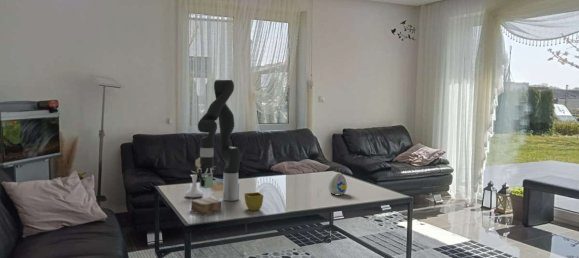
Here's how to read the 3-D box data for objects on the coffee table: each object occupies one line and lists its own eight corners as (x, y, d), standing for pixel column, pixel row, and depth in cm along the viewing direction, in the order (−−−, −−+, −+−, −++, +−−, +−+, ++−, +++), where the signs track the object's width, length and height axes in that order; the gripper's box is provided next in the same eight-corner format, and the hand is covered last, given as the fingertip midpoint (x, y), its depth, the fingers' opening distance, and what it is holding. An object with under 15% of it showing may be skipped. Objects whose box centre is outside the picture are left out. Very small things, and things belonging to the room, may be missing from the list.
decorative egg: (334, 197, 288) (335, 174, 287) (324, 193, 299) (325, 171, 298) (349, 195, 294) (350, 173, 292) (339, 191, 305) (340, 170, 303)
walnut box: (209, 207, 255) (209, 197, 255) (221, 212, 246) (221, 201, 246) (191, 210, 247) (191, 200, 247) (202, 215, 238) (202, 204, 238)
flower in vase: (187, 199, 270) (187, 159, 268) (183, 195, 281) (183, 156, 278) (207, 197, 276) (208, 158, 274) (203, 193, 286) (203, 156, 284)
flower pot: (248, 212, 246) (249, 196, 246) (243, 208, 254) (244, 193, 254) (263, 210, 250) (263, 195, 249) (257, 207, 258) (258, 192, 257)
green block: (206, 185, 249) (206, 175, 249) (212, 187, 246) (212, 176, 246) (200, 187, 245) (200, 176, 244) (206, 188, 242) (206, 177, 242)
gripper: (211, 153, 252) (211, 182, 253) (192, 156, 240) (192, 186, 242) (220, 155, 248) (220, 184, 249) (201, 157, 236) (201, 188, 237)
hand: (206, 185), depth 245 cm, fingers closed on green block, 5 cm apart
